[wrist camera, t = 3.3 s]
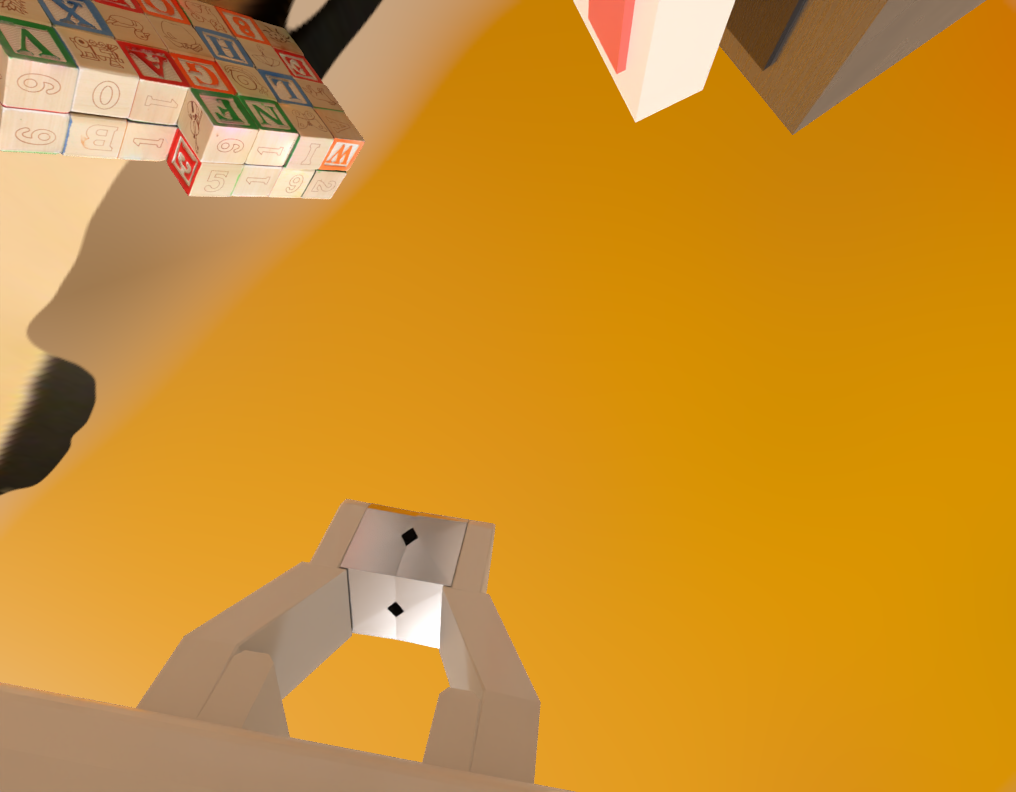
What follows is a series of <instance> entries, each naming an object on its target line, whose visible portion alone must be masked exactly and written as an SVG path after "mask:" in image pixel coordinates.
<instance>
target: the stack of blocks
mask: <svg viewBox="0 0 1016 792" xmlns="http://www.w3.org/2000/svg"><path fill="white" fill-rule="evenodd" d="M364 143H365V141H364V139H363V137H362V136H361V135H360V134H359V132H358V131H357V129H356V128H355V126H354V125H353V124H352V122H351V121H350V120H349V119H348V117H347V116H346V114H345V113H344V110H343V109H342V108H341V106H340V105H339V104H338V102H337V101H336V99H335V98H334V97H333V95H332V93H331V92H330V91H329V89H328V88H327V86H325V85H324V84H323V82H322V81H321V79H320V78H319V76H318V75H317V74H316V72H315V71H314V69H313V68H312V67H311V65H310V64H309V63H308V61H307V60H306V59H305V57H304V55H303V53H302V51H301V50H300V48H299V47H298V46H297V44H296V43H295V41H294V40H293V39H292V38H291V36H290V35H289V33H288V32H287V31H286V29H284V28H281V27H278V26H274V25H271V24H268V23H265V22H262V21H258V20H255V19H252V18H251V17H249V16H246V15H243V14H239V13H236V12H233V11H230V10H226V9H223V8H220V7H217V6H213V5H210V4H207V3H204V2H201V1H198V0H0V151H8V152H28V153H44V154H59V153H61V154H63V155H65V156H78V157H94V158H109V159H115V158H118V159H123V160H140V161H141V160H142V161H163V160H167V163H168V166H169V167H170V169H171V171H172V172H173V173H174V175H175V176H176V178H177V180H178V181H179V183H180V184H181V186H182V187H183V189H184V190H185V192H186V193H187V194H188V196H216V197H217V196H219V197H226V196H227V197H228V196H239V197H245V196H246V197H251V196H252V197H253V196H254V197H264V196H268V197H287V198H291V197H292V198H297V197H302V198H307V199H308V198H309V199H312V198H313V199H330V198H332V196H333V195H334V193H335V191H336V190H337V188H338V186H339V185H340V183H341V182H342V180H343V178H344V177H345V176H346V174H347V173H346V171H347V170H348V169H349V168H350V167H351V165H352V163H353V162H354V160H355V158H356V157H357V155H358V153H359V151H360V150H361V148H362V146H363V144H364Z"/></svg>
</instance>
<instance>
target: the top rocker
mask: <svg viewBox="0 0 1016 792" xmlns="http://www.w3.org/2000/svg"><path fill="white" fill-rule="evenodd" d="M573 1H574V3H575V5H576V7H577V8H578V11H579V13H580V15H581V17H582V19H583V20H584V22H585V24H586V26H587V28H588V30H589V32H590V34H591V36H592V38H593V40H594V42H595V44H596V46H597V48H598V50H599V52H600V54H601V56H602V58H603V60H604V62H605V64H606V66H607V68H608V70H609V71H610V73H611V75H612V77H613V79H614V81H615V83H616V85H617V87H618V89H619V91H620V93H621V95H622V97H623V99H624V101H625V103H626V105H627V107H628V109H629V111H630V112H631V115H632V116H633V119H634V120H635V122H637V121H639V120H641V119H643V118H646V117H647V116H650V115H652V114H654V113H656V112H658V111H660V110H662V109H664V108H666V107H668V106H670V105H672V104H674V103H676V102H678V101H680V100H682V99H685V98H687V97H689V96H691V95H693V94H695V93H697V92H699V91H701V90H703V87H704V84H705V82H706V79H707V76H708V74H709V71H710V68H711V65H712V63H713V60H714V57H715V55H716V52H717V49H718V46H719V44H720V41H721V38H722V35H723V33H724V30H725V27H726V24H727V22H728V19H729V16H730V14H731V11H732V8H733V5H734V3H735V0H573Z"/></svg>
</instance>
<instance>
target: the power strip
mask: <svg viewBox="0 0 1016 792" xmlns="http://www.w3.org/2000/svg"><path fill="white" fill-rule="evenodd" d="M984 1H986V0H735V3H734V5H733V8H732V11H731V14H730V16H729V19H728V22H727V24H726V27H725V30H724V33H723V35H722V38H721V41H720V44H719V45H720V47H721V48H722V49H723V50H724V51H725V53H726V54H727V55H728V56H729V58H730V59H731V60H732V61H733V62H734V64H735V65H736V66H737V67H738V69H739V70H740V71H741V72H742V74H743V75H744V76H745V77H746V78H747V80H748V81H749V82H750V83H751V85H752V86H753V87H754V88H755V89H756V90H757V92H758V93H759V94H760V96H762V98H763V99H764V100H765V102H766V103H767V104H768V105H769V107H770V108H771V109H772V110H773V111H774V113H775V114H776V115H777V116H778V118H779V119H780V120H781V121H782V122H783V124H784V125H785V126H786V127H787V129H788V130H789V131H790V132H791V133H792V135H793V134H794V133H796V132H797V131H798V130H800V129H801V128H803V127H805V126H806V125H807V124H809V123H810V122H812V121H813V120H815V119H816V118H817V117H819V116H820V115H822V114H823V113H825V112H826V111H827V110H829V109H830V108H832V107H833V106H835V105H836V104H838V103H839V102H840V101H842V100H843V99H845V98H846V97H848V96H849V95H850V94H852V93H853V92H855V91H856V90H858V89H859V88H860V87H862V86H863V85H865V84H866V83H868V82H869V81H871V80H872V79H873V78H875V77H876V76H878V75H879V74H880V73H882V72H883V71H885V70H886V69H888V68H889V67H891V66H892V65H894V64H895V63H897V62H898V61H899V60H901V59H902V58H904V57H905V56H907V55H908V54H909V53H911V52H912V51H914V50H915V49H917V48H918V47H920V46H921V45H922V44H924V43H925V42H927V41H928V40H930V39H931V38H932V37H934V36H935V35H937V34H938V33H940V32H941V31H943V30H944V29H945V28H947V27H948V26H950V25H951V24H953V23H954V22H955V21H957V20H958V19H960V18H961V17H963V16H964V15H965V14H967V13H968V12H970V11H971V10H973V9H974V8H976V7H977V6H978V5H980V4H981V3H983V2H984Z"/></svg>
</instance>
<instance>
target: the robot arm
mask: <svg viewBox="0 0 1016 792" xmlns="http://www.w3.org/2000/svg"><path fill="white" fill-rule="evenodd" d="M494 532H495V525H494V524H491V523H486V522H479V521H473V520H470V521H469V520H467V519H461V518H455V517H448V516H442V515H435V514H429V513H423V512H420V513H419V512H414V511H409V510H404V509H398V508H393V507H388V506H382V505H378V504H373V503H365V502H360V501H355V500H349V499H346V500H345V501H344V502H343V503H342V504H341V505H340V507H339V508H338V510H337V512H336V514H335V516H334V518H333V520H332V521H331V523H330V525H329V527H328V529H327V531H326V533H325V535H324V537H323V538H322V540H321V543H320V544H319V546H318V548H317V550H316V552H315V554H314V556H313V557H312V560H311V561H310V563H307V562H301V563H299V564H298V565H296V566H295V567H293V568H291V569H290V570H288V571H287V572H285V573H284V574H282V575H280V576H279V577H277V578H276V579H274V580H273V581H271V582H269V583H268V584H266V585H264V586H263V587H261V588H260V589H258V590H257V591H255V592H254V593H252V594H250V595H249V596H247V597H246V598H244V599H242V600H241V601H239V602H238V603H236V604H234V605H233V606H231V607H230V608H228V609H226V610H225V611H223V612H222V613H220V614H219V615H217V616H216V617H214V618H212V619H211V620H209V621H207V622H206V623H204V624H203V625H201V626H200V627H198V628H196V629H195V630H193V631H192V632H190V633H189V634H187V635H185V636H184V637H183V639H182V640H181V642H180V644H179V645H178V646H177V648H176V649H175V651H174V652H173V654H172V655H171V657H170V658H169V660H168V661H167V663H166V664H165V666H164V667H163V669H162V670H161V672H160V673H159V675H158V676H157V677H156V679H155V681H154V682H153V683H152V685H151V686H150V688H149V690H148V691H147V692H146V694H145V695H144V697H143V698H142V700H141V701H140V703H139V704H138V706H137V707H136V708H132V707H126V706H121V705H116V704H111V703H106V702H100V701H95V700H90V699H84V698H79V697H74V696H69V695H64V694H58V693H53V692H48V691H43V690H37V689H32V688H27V687H21V686H16V685H11V684H6V683H1V682H0V792H574V791H569V790H563V789H558V788H552V787H548V786H542V785H537V784H534V775H535V763H536V750H537V738H538V726H539V713H540V700H539V698H538V696H537V694H536V692H535V690H534V688H533V686H532V684H531V681H530V680H529V678H528V675H527V673H526V671H525V669H524V667H523V665H522V663H521V660H520V658H519V656H518V654H517V652H516V650H515V648H514V646H513V644H512V642H511V639H510V638H509V635H508V633H507V631H506V629H505V627H504V625H503V623H502V620H501V618H500V616H499V615H498V612H497V610H496V608H495V606H494V604H493V602H492V600H491V597H490V595H489V594H486V591H487V584H488V577H489V570H490V563H491V556H492V547H493V540H494ZM352 633H358V634H364V635H371V636H378V637H384V638H391V639H397V640H402V641H407V642H411V643H417V644H421V645H426V646H431V647H436V648H439V652H440V655H441V658H442V661H443V664H444V668H445V671H446V674H447V678H448V681H449V684H450V687H451V688H450V687H449V688H447V689H445V690H444V691H443V692H441V693H440V694H439V698H438V702H437V706H436V710H435V714H434V718H433V722H432V726H431V730H430V734H429V738H428V742H427V746H426V751H425V754H424V758H423V762H422V763H421V762H416V761H411V760H406V759H400V758H395V757H390V756H384V755H379V754H374V753H369V752H364V751H359V750H353V749H348V748H343V747H338V746H332V745H327V744H322V743H317V742H311V741H306V740H300V739H295V738H290V736H289V732H288V727H287V722H286V718H285V713H284V709H283V704H282V699H283V698H284V697H285V696H287V695H288V694H289V693H290V692H291V691H292V690H293V689H294V688H295V687H296V686H297V685H299V684H300V683H301V682H302V681H303V680H304V679H305V678H306V677H307V676H308V675H309V674H311V673H312V672H313V671H314V670H315V669H316V668H317V667H318V666H319V665H320V664H321V663H322V662H324V661H325V660H326V659H327V658H328V657H329V656H330V655H331V654H332V653H333V652H334V651H336V650H337V649H338V648H339V647H340V646H341V645H342V644H343V643H344V642H345V641H346V640H348V639H349V638H350V637H351V636H352Z"/></svg>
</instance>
